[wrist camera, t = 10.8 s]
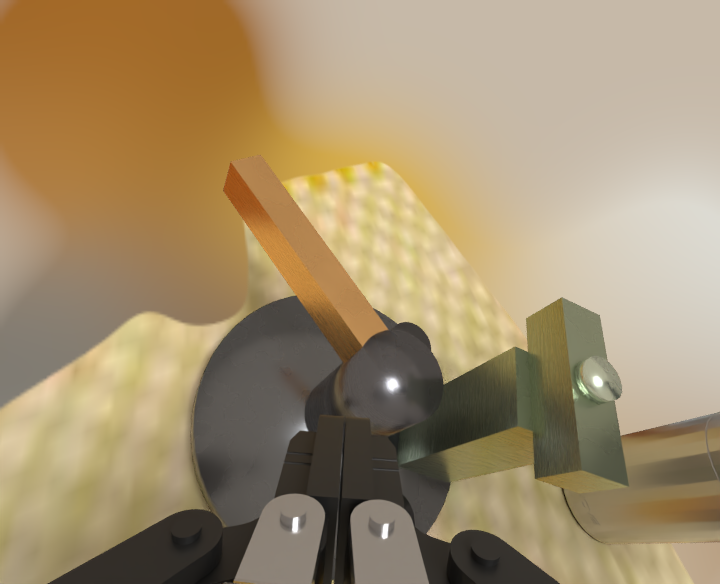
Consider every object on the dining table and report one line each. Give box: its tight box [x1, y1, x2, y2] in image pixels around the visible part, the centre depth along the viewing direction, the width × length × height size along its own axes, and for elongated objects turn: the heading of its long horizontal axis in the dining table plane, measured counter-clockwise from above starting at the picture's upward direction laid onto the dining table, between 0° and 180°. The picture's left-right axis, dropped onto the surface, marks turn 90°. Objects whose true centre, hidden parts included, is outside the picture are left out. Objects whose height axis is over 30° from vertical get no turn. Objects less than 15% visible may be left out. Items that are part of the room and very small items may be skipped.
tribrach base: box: [191, 296, 629, 580], centre depth 29 cm, size 22×22×20 cm
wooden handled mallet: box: [223, 155, 443, 454], centre depth 32 cm, size 21×6×10 cm, turn 40°
